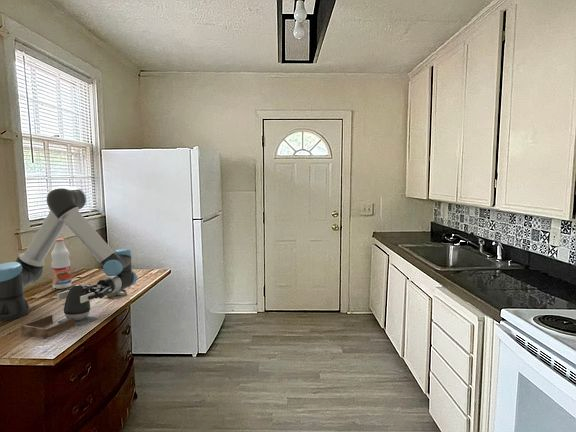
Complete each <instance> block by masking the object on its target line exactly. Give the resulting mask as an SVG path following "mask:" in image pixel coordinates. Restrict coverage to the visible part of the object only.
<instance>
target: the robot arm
mask: <svg viewBox="0 0 576 432" xmlns="http://www.w3.org/2000/svg"><path fill="white" fill-rule="evenodd" d="M86 203H87V196H86V193H85V192H84V191H83V189H81V188H79V187H76V186H70V185H69V186H57V187H54V188H52V189H51V190H50V191H49V192H48V193H47V195H46V204H47V207H48V208H49V213H48V214H47V216H46V218H44V221H43V223H42V224H41V226H40V227H39V229H38V230H37V233H36V234H35V235H34V237H33V238H32V240H31V242H30V243H29V245H28V246H27V248H26V250H25V251H24V252H22V253H19V254H18V256H17V258H16V260H15V261H9V262H3V263H0V322H5V321H6V320H7V321H12V320H16V319H20V318H23V317H25V316H27V315H29V314H30V306H29V303H28V302H27V300H26V298H25V294H24V293H25V292H24V287H26V286H27V285H30V284H32V283H36V281H37V280H39V279H40V278H41V276H42V275H43V273H44V266H45V265H46V262H45V259H46V256H47V255H48V253H49V252H50V251H51V249H52V247H53V245H55V241H56V239H58V238H59V236H60V234H61V232H63V229H64V228H65V226H67V227H68V229H70V231H72V233H74V235H75V236H76V237H77V238H78V239H79V240H80V242H81V243H82V244H83V245H84V246H85V248H87V249H88V250H89V251H90V253H91V254H92V255H93V257H95V259H96V260H97V261H98V262H99V263H100V264H101V266H102V270H103V272H104V274H105V275H107V276H108V277H105V278H102V279H99V280H98V281H97V283H96V284H94V283H93V284H91V283H89V284H86V285H82V286H83V287H84V288H86V287H88V288H89V289H88V290H86V292H87V294H86V295H84V296H81V297H80V303H83V302H86V301H92V300H95V299H103V298H104V297H106V295H107V294H109V293H112V292H113V293H114V292H115V291H117V290H120V289H126V288H130V287H132V286H133V285H135V284H136V282H137V281H138V276H137V274H136V272H135V271H133V269H132V253H131V249H129V248H120V249H116V250H113V249H112V248H111V247H110V245H109V244H108V243H107V242H106V241H105V240H104V239H103V238H102V236H101V235H100V234H99V233H98V232H97V231H96V230H95V227H93V226H92V225H91V224H90V223H89V221H88V220H87V218H86V217H85V216H84V215H82V213H81V212H80V211H79V210H82V209H83V208H84V206H85V205H86ZM70 289H71V287H68V288H67V290H65V291H62V292H59V293H57V294H56V296H57V301H61V300H64V299H66V297H67V295H68V292H69V290H70ZM7 321H6V322H7Z"/></svg>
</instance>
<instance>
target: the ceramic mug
mask: <svg viewBox="0 0 576 432" xmlns="http://www.w3.org/2000/svg"><path fill="white" fill-rule="evenodd" d="M127 293H128V291H127V289H126V288H123V289H120V290H117V291H115V292H114V293H113V292H112V293H109V294H107V295H106V296H107V298H108V297H109V298H113V297H116V296H123V297H124V296H126V295H127ZM106 296H105V297H106Z"/></svg>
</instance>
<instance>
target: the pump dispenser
mask: <svg viewBox="0 0 576 432" xmlns="http://www.w3.org/2000/svg"><path fill="white" fill-rule="evenodd" d="M83 286H84V285H82V284H74V285H73V286H72V285H71V286H70V288H71V289H70V290H69V292H68V295H67V297H66V298H65V301H64V306H63V314H64V316H65V318H67V319H69V320H70V319H73V318H75V321H79V320H82V319H84V318H86V317H87V316H89V314H90V311H91V302H90V301H91V300H89V301H86V302H83V303H80V297H81V296H84V295H86V294H87V292H86V290H88V289H89V288H88V287H86V288H84V287H83Z"/></svg>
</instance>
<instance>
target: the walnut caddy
mask: <svg viewBox="0 0 576 432" xmlns="http://www.w3.org/2000/svg"><path fill="white" fill-rule="evenodd" d="M53 317H54V316H53V314H49V315H47V316H43V317H41V318H37V319H35V320H32V321H30V322H27V323H24V324H21V325H20V326H21V335H26V336H31V337H36V338H42V339H49V338H51V337H53V336H56V335H58V334H61V333H64V332H65V331H69V330H70V329H73V328H75V327H76V325H75V318H73V319H70V320H67V321H65V322H62V323H57V324H55V325H52V326H50V327H47V328H44V327H46V326H49V325H51V324H53V323H54V319H53Z"/></svg>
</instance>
